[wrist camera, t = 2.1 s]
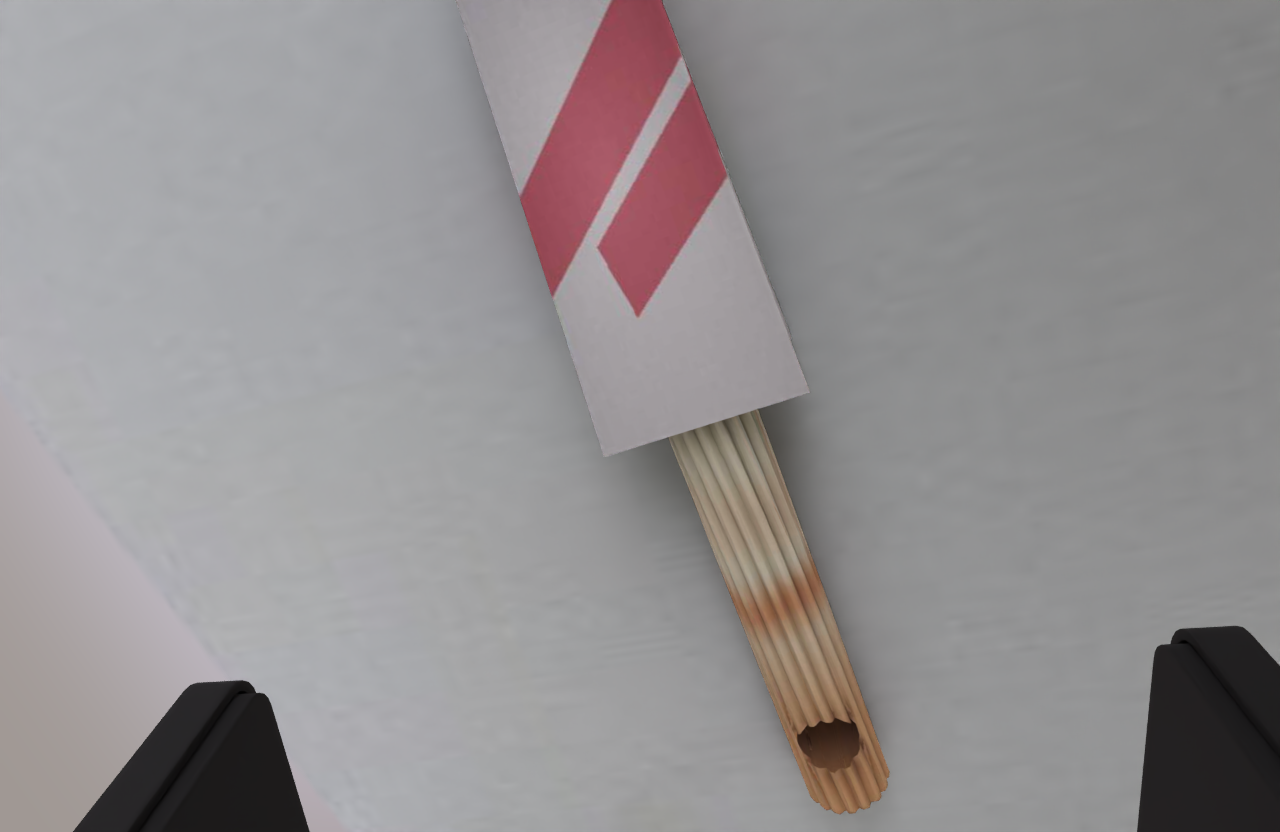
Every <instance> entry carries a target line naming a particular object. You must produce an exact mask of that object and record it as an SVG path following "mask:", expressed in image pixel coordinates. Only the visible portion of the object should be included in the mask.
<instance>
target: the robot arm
mask: <svg viewBox="0 0 1280 832" xmlns="http://www.w3.org/2000/svg"><path fill="white" fill-rule="evenodd" d="M73 832H309V828H308V825H307V822H306V818H305V815H304V812H303V808H302V805H301V802H300V799H299V795H298V792H297V789H296V785H295V782H294V779H293V775H292V772H291V769H290V765H289V762H288V759H287V755H286V752H285V749H284V746H283V742H282V739H281V736H280V732H279V729H278V726H277V722H276V719H275V716H274V712H273V709H272V706H271V703H270V701H269V698H268V697H267V696H266V695H265V694H263V693H256V691H255V689H254V687H253V686H252V685H251V684H250V683H249V682H247V681H243V680H240V681H222V682H203V683H195V684H192V685H190V686H189V687H188V688H187V689H186V690H185V691H184V692H183V693H182V694H181V695H180V697H179V698H178V699H177V700H176V702H175V703H174V704H173V706H172V707H171V708H170V709H169V711H168V712H167V713H166V715H165V716H164V717H163V718H162V719H161V721H160V722H159V723H158V725H157V726H156V727H155V729H154V730H153V731H152V732H151V733H150V735H149V736H148V737H147V739H146V740H145V741H144V742H143V744H142V745H141V746H140V747H139V749H138V750H137V751H136V752H135V754H134V755H133V756H132V758H131V759H130V760H129V761H128V763H127V764H126V765H125V766H124V768H123V769H122V770H121V772H120V773H119V774H118V775H117V776H116V778H115V779H114V781H113V782H112V783H111V784H110V785H109V787H108V788H107V789H106V791H105V792H104V793H103V794H102V796H101V797H100V798H99V799H98V801H97V802H96V803H95V804H94V806H93V807H92V808H91V810H90V811H89V812H88V813H87V815H86V816H85V817H84V818H83V820H82V821H81V822H80V824H79V825H78V826H77V827H76V828H75V830H74V831H73ZM1137 832H1280V666H1279V665H1278V664H1277V662H1276V661H1275V660H1274V659H1273V658H1272V657H1271V656H1270V655H1269V654H1268V652H1267V651H1266V650H1265V649H1264V648H1263V647H1262V646H1261V645H1260V643H1259V642H1258V641H1257V640H1256V639H1255V638H1254V637H1253V636H1252V635H1251V633H1249V632H1248V631H1247V630H1246V629H1245V628H1243V627H1239V626H1225V627H1206V628H1188V629H1179V630H1178V631H1176V632H1175V633H1174V635H1173V637H1172V640H1171V644H1166V645H1160V646H1158V647H1157V649H1156V651H1155V655H1154V661H1153V671H1152V682H1151V692H1150V703H1149V713H1148V724H1147V734H1146V745H1145V755H1144V766H1143V776H1142V786H1141V797H1140V807H1139V818H1138V828H1137Z"/></svg>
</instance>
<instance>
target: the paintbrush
mask: <svg viewBox="0 0 1280 832" xmlns="http://www.w3.org/2000/svg"><path fill="white" fill-rule="evenodd" d="M456 3H457V6H458V9H459V12H460V15H461V18H462V22H463V25H464V28H465V31H466V34H467V37H468V40H469V43H470V46H471V49H472V52H473V55H474V58H475V62H476V65H477V68H478V71H479V74H480V77H481V80H482V83H483V86H484V89H485V92H486V95H487V98H488V102H489V105H490V108H491V111H492V114H493V117H494V120H495V123H496V126H497V129H498V132H499V135H500V138H501V142H502V145H503V148H504V151H505V154H506V157H507V160H508V163H509V166H510V169H511V172H512V175H513V179H514V182H515V185H516V188H517V191H518V194H519V197H520V200H521V203H522V206H523V209H524V212H525V215H526V219H527V222H528V225H529V228H530V231H531V234H532V237H533V240H534V243H535V246H536V249H537V252H538V255H539V259H540V262H541V265H542V268H543V271H544V274H545V277H546V280H547V283H548V286H549V289H550V292H551V295H552V299H553V302H554V305H555V308H556V311H557V314H558V317H559V320H560V323H561V326H562V329H563V332H564V336H565V339H566V342H567V345H568V348H569V351H570V354H571V357H572V360H573V363H574V366H575V369H576V372H577V376H578V379H579V382H580V385H581V388H582V391H583V394H584V397H585V400H586V403H587V406H588V409H589V412H590V416H591V419H592V422H593V425H594V428H595V431H596V434H597V437H598V440H599V443H600V446H601V449H602V452H603V456H604V457H607V456H610V455H613V454H616V453H620V452H623V451H626V450H629V449H632V448H635V447H639V446H642V445H645V444H648V443H651V442H655V441H658V440H661V439H664V438H667V437H668V438H669V441H670V443H671V446H672V448H673V451H674V453H675V456H676V458H677V461H678V463H679V466H680V468H681V471H682V473H683V475H684V478H685V480H686V483H687V485H688V488H689V490H690V493H691V496H692V498H693V501H694V503H695V506H696V509H697V511H698V514H699V516H700V519H701V521H702V524H703V527H704V529H705V532H706V534H707V537H708V539H709V542H710V545H711V547H712V550H713V552H714V555H715V558H716V560H717V563H718V565H719V568H720V570H721V573H722V575H723V578H724V580H725V583H726V585H727V588H728V590H729V593H730V595H731V598H732V600H733V603H734V605H735V608H736V610H737V613H738V615H739V618H740V620H741V623H742V625H743V628H744V630H745V633H746V635H747V638H748V640H749V643H750V645H751V648H752V650H753V653H754V655H755V658H756V660H757V663H758V666H759V668H760V671H761V673H762V676H763V678H764V681H765V683H766V686H767V688H768V691H769V693H770V696H771V698H772V701H773V703H774V706H775V708H776V711H777V713H778V716H779V718H780V721H781V723H782V726H783V728H784V731H785V733H786V736H787V738H788V741H789V743H790V746H791V748H792V751H793V753H794V756H795V758H796V761H797V763H798V766H799V768H800V771H801V774H802V776H803V779H804V781H805V784H806V786H807V789H808V791H809V794H810V796H811V798H812V799H813V800H814V801H815V802H816V803H820V805H821V806H822V807H823V808H824V809H826V810H830V809H831V810H832V811H833V812H834V813H837V814H841V813H843V812H844V811H847V812H848V813H849V814H851V813H855V812H856V811H857V810H858V809H859V808H861V809H867V808H869V807H870V804H871V802H873V801H879V800H880V798H881V792H882V791H885V790H886V788H887V786H888V782H887V778H888V777H889V769H888V767H887V764H886V762H885V759H884V756H883V754H882V751H881V748H880V745H879V743H878V740H877V737H876V734H875V731H874V729H873V726H872V723H871V720H870V717H869V715H868V712H867V709H866V706H865V703H864V700H863V698H862V695H861V692H860V689H859V686H858V684H857V681H856V678H855V675H854V672H853V670H852V667H851V664H850V661H849V658H848V656H847V653H846V650H845V647H844V644H843V642H842V639H841V636H840V633H839V630H838V628H837V625H836V622H835V619H834V616H833V614H832V611H831V608H830V605H829V603H828V600H827V597H826V594H825V592H824V589H823V586H822V583H821V581H820V578H819V575H818V572H817V570H816V567H815V564H814V561H813V559H812V556H811V553H810V550H809V548H808V545H807V542H806V539H805V537H804V534H803V531H802V528H801V526H800V523H799V520H798V517H797V515H796V512H795V509H794V506H793V504H792V501H791V498H790V495H789V493H788V490H787V487H786V484H785V482H784V479H783V476H782V473H781V471H780V468H779V465H778V462H777V460H776V457H775V454H774V451H773V449H772V446H771V443H770V441H769V438H768V435H767V433H766V430H765V427H764V425H763V422H762V419H761V416H760V413H759V410H758V409H760V408H763V407H766V406H769V405H772V404H776V403H779V402H782V401H785V400H788V399H791V398H795V397H798V396H801V395H804V394H807V393H810V390H809V388H808V385H807V382H806V380H805V377H804V375H803V372H802V369H801V367H800V364H799V361H798V359H797V356H796V354H795V351H794V348H793V346H792V343H791V340H790V339H792V337H791V334H790V331H789V329H788V326H787V324H786V321H785V318H784V316H783V313H782V311H781V308H780V306H779V303H778V300H777V298H776V295H775V293H774V290H773V287H772V285H771V282H770V280H769V277H768V274H767V272H766V269H765V267H764V264H763V262H762V259H761V256H760V254H759V251H758V249H757V246H756V243H755V241H754V238H753V236H752V233H751V231H750V228H749V225H748V223H747V220H746V218H745V215H744V212H743V210H742V207H741V205H740V202H739V199H738V197H737V194H736V192H735V189H734V187H733V184H732V181H731V179H730V176H729V174H728V171H727V168H726V166H725V163H724V161H723V158H722V155H721V153H720V150H719V148H718V145H717V143H716V140H715V137H714V135H713V132H712V130H711V127H710V124H709V122H708V119H707V117H706V114H705V111H704V109H703V106H702V104H701V101H700V99H699V96H698V93H697V91H696V88H695V86H694V83H693V80H692V78H691V75H690V73H689V70H688V68H687V65H686V62H685V60H684V57H683V55H682V52H681V49H680V47H679V44H678V42H677V39H676V36H675V34H674V31H673V29H672V26H671V24H670V21H669V18H668V16H667V13H666V11H665V8H664V5H663V3H662V0H456Z"/></svg>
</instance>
